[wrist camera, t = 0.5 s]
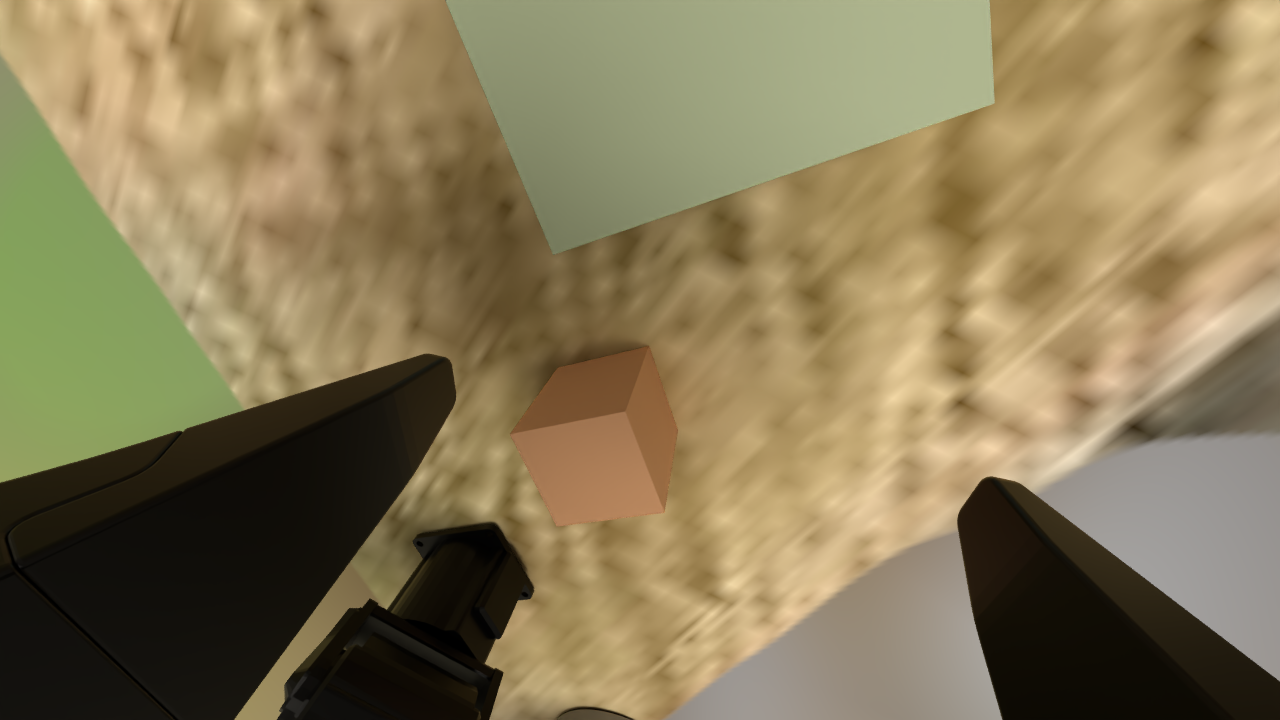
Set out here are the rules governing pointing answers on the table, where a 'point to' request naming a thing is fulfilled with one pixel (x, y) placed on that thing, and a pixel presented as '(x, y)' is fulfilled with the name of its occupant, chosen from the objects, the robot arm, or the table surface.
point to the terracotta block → (600, 439)
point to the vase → (590, 715)
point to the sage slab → (708, 93)
